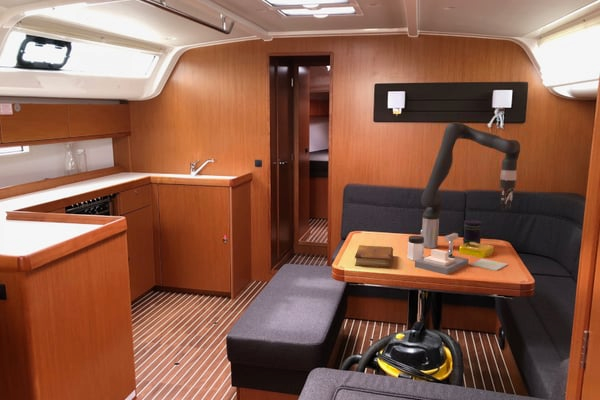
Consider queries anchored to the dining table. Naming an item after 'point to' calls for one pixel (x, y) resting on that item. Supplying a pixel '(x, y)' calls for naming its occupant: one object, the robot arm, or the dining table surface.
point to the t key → (451, 242)
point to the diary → (374, 256)
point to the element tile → (476, 249)
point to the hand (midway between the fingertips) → (505, 209)
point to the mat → (488, 264)
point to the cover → (439, 257)
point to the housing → (440, 268)
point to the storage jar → (472, 231)
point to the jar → (415, 248)
